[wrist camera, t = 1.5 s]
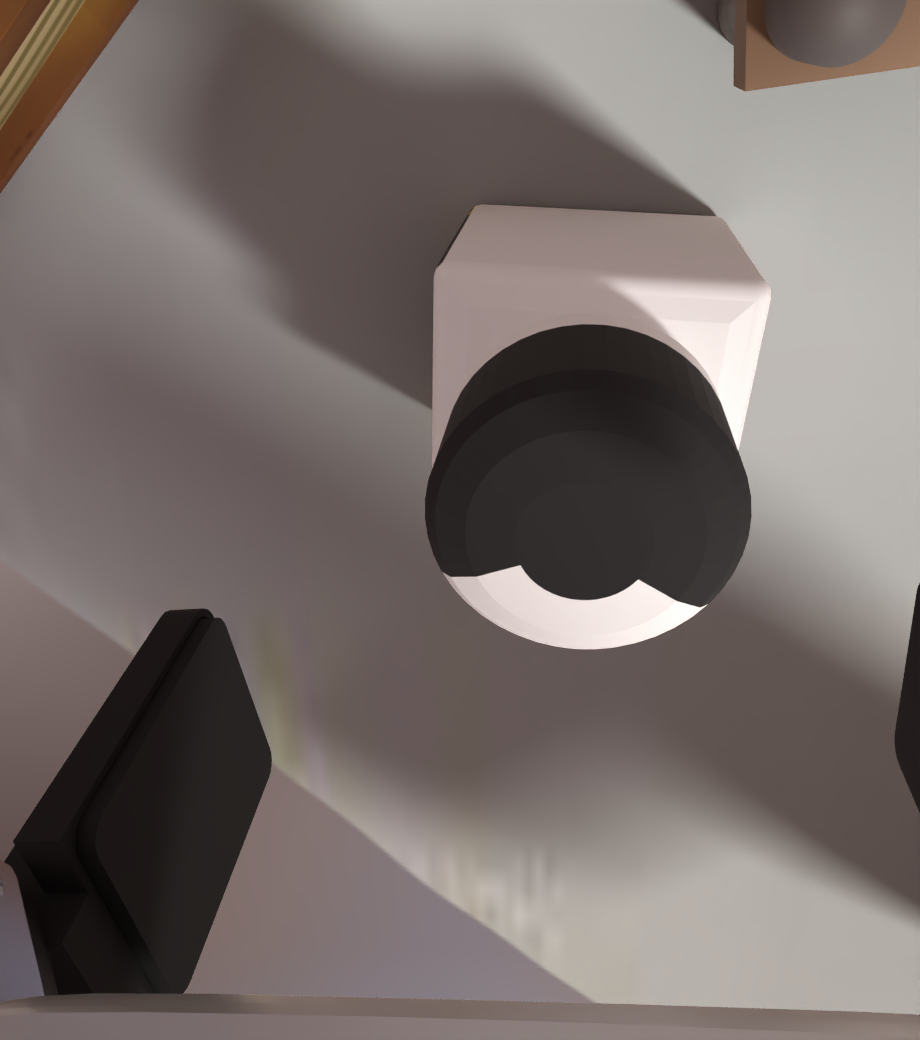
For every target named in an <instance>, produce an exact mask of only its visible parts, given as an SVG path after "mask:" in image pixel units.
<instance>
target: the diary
mask: <svg viewBox="0 0 920 1040" xmlns="http://www.w3.org/2000/svg"><path fill="white" fill-rule="evenodd" d="M137 2H138V0H0V193H1V192H2V190H3V189H4V187H5V186H6V185H7V183H8V182H9V180H10V179H11V178H12V176H13V175H14V173H15V172H16V171H17V169H18V168H19V166H20V165H21V164H22V162H23V161H24V159H25V158H26V157H27V155H28V154H29V153H30V151H31V150H32V148H33V147H34V146H35V144H36V143H37V141H38V140H39V139H40V137H41V136H42V134H43V133H44V132H45V130H46V129H47V127H48V126H49V125H50V123H51V122H52V120H53V119H54V118H55V116H56V115H57V113H58V112H59V111H60V109H61V108H62V106H63V105H64V104H65V102H66V101H67V100H68V98H69V97H70V95H71V94H72V93H73V91H74V90H75V88H76V87H77V86H78V84H79V83H80V81H81V80H82V79H83V77H84V76H85V74H86V73H87V72H88V70H89V69H90V67H91V66H92V65H93V63H94V62H95V60H96V59H97V58H98V56H99V55H100V53H101V52H102V51H103V49H104V48H105V47H106V45H107V44H108V42H109V41H110V40H111V38H112V37H113V35H114V34H115V33H116V31H117V30H118V28H119V27H120V26H121V24H122V23H123V21H124V20H125V19H126V17H127V16H128V14H129V13H130V12H131V10H132V9H133V7H134V6H135V5H136V3H137Z"/></svg>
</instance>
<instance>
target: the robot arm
mask: <svg viewBox="0 0 920 1040" xmlns="http://www.w3.org/2000/svg"><path fill="white" fill-rule="evenodd" d="M895 750H896V755H897V759H898V762H899V765H900V768H901V770H902V772H903V775H904V777H905V779H906V782H907V784H908V786H909V789H910V791H911V793H912V796H913V798H914V800H915V803H916V805H917V807H918V810H919V812H920V584H919V586H918V589H917V594H916V600H915V607H914V613H913V620H912V626H911V633H910V639H909V646H908V652H907V659H906V665H905V672H904V678H903V685H902V691H901V698H900V704H899V711H898V717H897V724H896V730H895ZM271 763H272V758H271V751H270V747H269V745H268V742H267V739H266V736H265V733H264V731H263V728H262V725H261V722H260V720H259V717H258V714H257V711H256V708H255V706H254V703H253V700H252V697H251V694H250V692H249V689H248V686H247V683H246V681H245V678H244V675H243V672H242V669H241V667H240V664H239V661H238V658H237V656H236V653H235V650H234V647H233V644H232V642H231V639H230V636H229V633H228V630H227V628H226V625H225V623H224V621H223V620H222V619H220V618H214V617H213V615H212V613H211V612H210V611H209V610H207V609H186V610H170V611H167V612H165V613H164V614H163V615H162V616H161V618H160V619H159V621H158V622H157V624H156V625H155V627H154V628H153V630H152V631H151V633H150V634H149V636H148V637H147V639H146V640H145V642H144V643H143V645H142V646H141V648H140V649H139V651H138V652H137V654H136V655H135V657H134V658H133V660H132V662H131V663H130V665H129V666H128V668H127V669H126V671H125V672H124V674H123V675H122V677H121V678H120V680H119V681H118V683H117V684H116V686H115V687H114V689H113V691H112V692H111V693H110V695H109V697H108V698H107V699H106V701H105V702H104V704H103V706H102V707H101V709H100V710H99V712H98V713H97V715H96V716H95V718H94V719H93V721H92V722H91V724H90V725H89V727H88V728H87V730H86V731H85V733H84V734H83V736H82V737H81V739H80V740H79V742H78V744H77V745H76V747H75V748H74V750H73V751H72V753H71V754H70V756H69V757H68V759H67V760H66V762H65V763H64V765H63V766H62V768H61V769H60V771H59V772H58V774H57V775H56V777H55V778H54V780H53V781H52V783H51V784H50V786H49V788H48V789H47V791H46V792H45V794H44V795H43V797H42V798H41V800H40V801H39V803H38V804H37V806H36V807H35V809H34V810H33V812H32V813H31V815H30V816H29V818H28V819H27V821H26V822H25V824H24V826H23V827H22V829H21V830H20V832H19V833H18V835H17V836H16V838H15V839H14V841H13V842H14V844H15V846H14V848H13V849H12V851H11V852H10V854H9V856H8V857H7V858H6V860H5V861H4V862H3V861H1V860H0V1040H920V1015H913V1014H893V1013H872V1012H850V1011H819V1010H789V1009H758V1008H728V1007H697V1006H667V1005H636V1004H601V1003H564V1002H530V1001H527V1002H526V1001H494V1000H456V999H417V998H378V997H375V998H374V997H332V996H327V997H326V996H287V995H240V994H183V993H184V991H185V990H186V989H187V987H188V985H189V983H190V981H191V978H192V975H193V973H194V970H195V968H196V965H197V963H198V960H199V957H200V955H201V952H202V949H203V947H204V944H205V942H206V939H207V937H208V934H209V931H210V929H211V926H212V924H213V921H214V918H215V916H216V913H217V911H218V908H219V905H220V903H221V900H222V898H223V895H224V892H225V890H226V887H227V884H228V882H229V879H230V877H231V874H232V872H233V869H234V867H235V864H236V861H237V859H238V856H239V853H240V851H241V848H242V846H243V843H244V840H245V838H246V835H247V833H248V830H249V827H250V825H251V822H252V820H253V817H254V815H255V812H256V809H257V807H258V804H259V801H260V799H261V796H262V794H263V791H264V789H265V786H266V783H267V781H268V778H269V775H270V772H271Z"/></svg>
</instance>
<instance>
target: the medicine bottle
mask: <svg viewBox="0 0 920 1040" xmlns="http://www.w3.org/2000/svg"><path fill="white" fill-rule="evenodd" d="M770 300H771V288H770V287H769V285H768V284H767V282H766V281H765V279H764V278H763V276H762V275H761V274H760V272H759V271H758V269H757V268H756V266H755V265H754V263H753V262H752V260H751V259H750V257H749V256H748V254H747V253H746V251H745V250H744V248H743V247H742V245H741V244H740V243H739V241H738V240H737V238H736V237H735V235H734V234H733V232H732V231H731V229H730V228H729V226H728V225H727V223H726V222H725V221H724V220H723V219H722V218H719V217H716V216H699V215H680V214H660V213H641V212H622V211H602V210H583V209H564V208H545V207H525V206H506V205H487V204H481V205H477V206H474V207H473V208H472V209H471V210H470V212H469V214H468V215H467V217H466V219H465V220H464V222H463V224H462V225H461V227H460V229H459V231H458V232H457V234H456V236H455V237H454V239H453V241H452V242H451V244H450V246H449V247H448V249H447V251H446V253H445V254H444V256H443V258H442V259H441V261H440V263H439V264H438V266H437V268H436V271H435V274H434V295H433V393H432V471H431V474H430V477H429V480H428V486H427V492H426V498H425V520H426V527H427V533H428V538H429V541H430V545H431V548H432V551H433V554H434V556H435V558H436V560H437V563H438V565H439V567H440V569H441V571H442V572H443V574H444V575H445V577H446V578H447V580H448V581H449V583H450V584H451V586H452V587H453V588H454V589H455V591H456V592H457V593H458V594H459V595H460V596H461V597H462V598H463V599H464V600H465V602H467V603H468V604H469V605H470V606H471V607H472V608H474V609H475V610H476V611H477V612H478V613H479V614H481V615H482V616H484V617H485V618H487V619H488V620H490V621H491V622H493V623H494V624H496V625H497V626H499V627H501V628H503V629H505V630H507V631H509V632H511V633H513V634H516V635H518V636H521V637H524V638H527V639H529V640H532V641H535V642H539V643H543V644H547V645H551V646H555V647H563V648H571V649H604V648H614V647H619V646H624V645H629V644H634V643H637V642H640V641H643V640H646V639H649V638H653V637H656V636H658V635H660V634H662V633H664V632H667V631H669V630H671V629H673V628H675V627H677V626H678V625H680V624H682V623H683V622H685V621H686V620H688V619H690V618H691V617H693V616H694V615H695V614H696V613H698V612H699V611H700V610H701V609H703V608H704V607H705V606H706V605H708V604H709V603H710V601H711V600H712V599H713V598H714V597H715V596H716V595H717V594H718V593H719V592H720V591H721V590H722V589H723V587H724V586H725V584H726V583H727V581H728V580H729V579H730V577H731V576H732V574H733V573H734V571H735V569H736V567H737V565H738V563H739V561H740V559H741V557H742V555H743V552H744V549H745V545H746V542H747V539H748V536H749V529H750V522H751V494H750V489H749V484H748V479H747V475H746V472H745V469H744V466H743V463H742V461H741V458H740V455H739V452H738V450H739V445H740V440H741V436H742V431H743V426H744V422H745V417H746V412H747V408H748V403H749V398H750V394H751V389H752V384H753V380H754V375H755V370H756V366H757V361H758V356H759V352H760V347H761V342H762V338H763V333H764V328H765V324H766V319H767V314H768V310H769V305H770Z"/></svg>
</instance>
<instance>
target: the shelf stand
mask: <svg viewBox="0 0 920 1040" xmlns="http://www.w3.org/2000/svg"><path fill="white" fill-rule="evenodd" d="M717 18H718V23H719V26H720V29H721V31H722V33H723V35H724V36H725V38H726V39H727V40H728V41H729V42H730V43H731V44H732V45H734V86H735V87H737V88H739V89H742V90H744V91H751V90H757V89H764V88H771V87H778V86H785V85H792V84H799V83H806V82H813V81H819V80H826V79H833V78H840V77H847V76H854V75H861V74H868V73H875V72H882V71H888V70H895V69H902V68H909V67H916V66H920V0H718V4H717Z"/></svg>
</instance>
